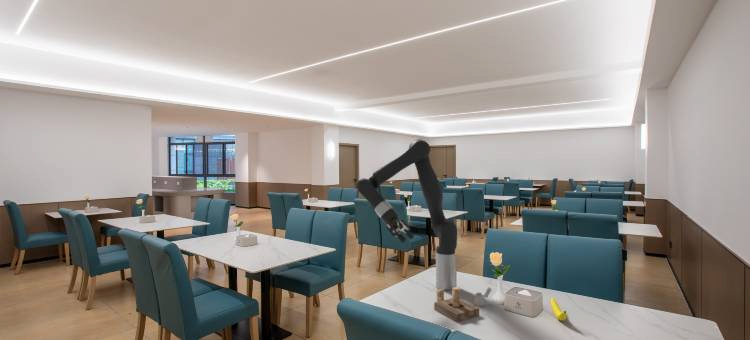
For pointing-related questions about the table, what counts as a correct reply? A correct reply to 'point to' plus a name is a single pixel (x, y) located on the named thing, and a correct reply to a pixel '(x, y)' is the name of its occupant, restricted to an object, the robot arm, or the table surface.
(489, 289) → the lighter
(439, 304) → the hole plate
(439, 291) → the short pin
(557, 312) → the banana
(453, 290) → the long pin
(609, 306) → the table surface
